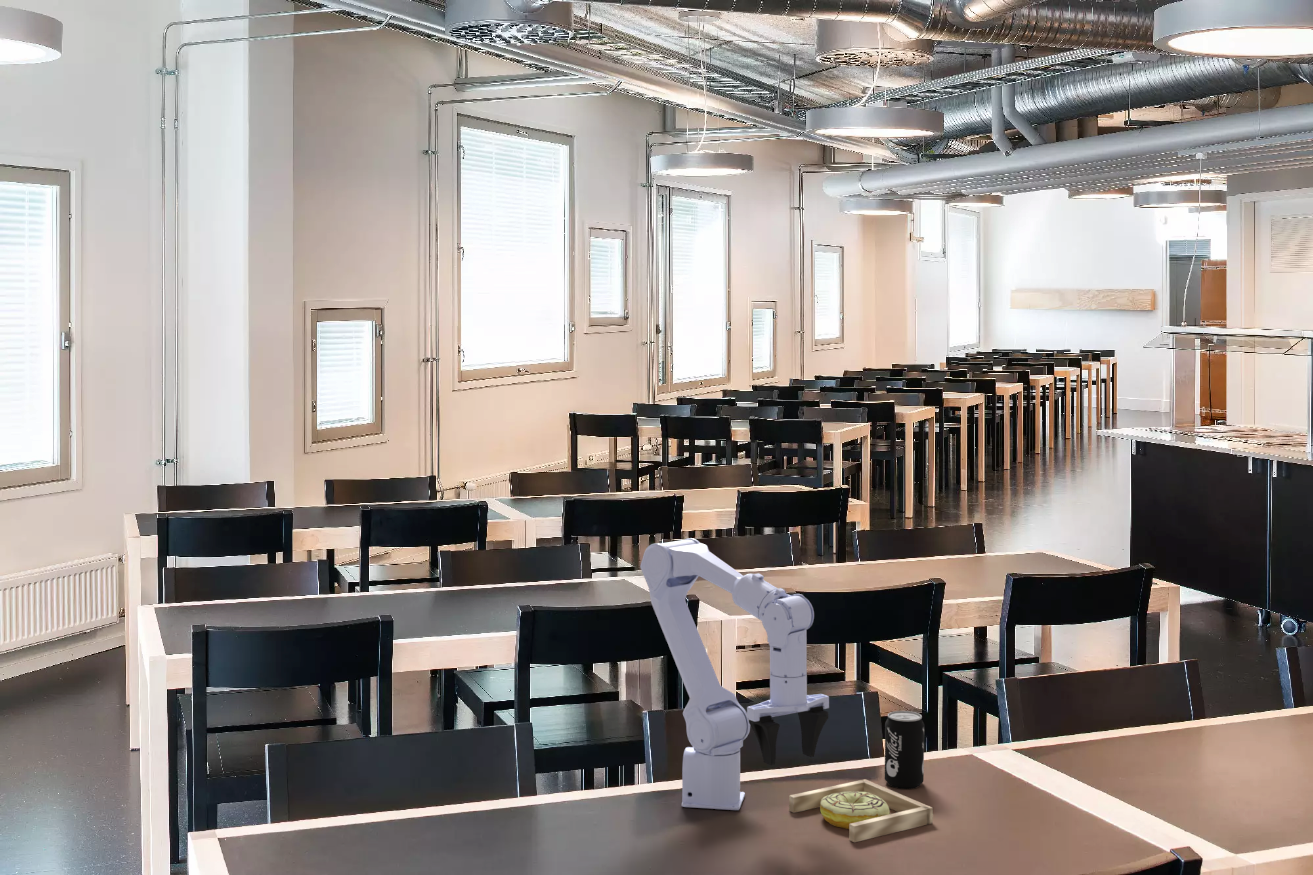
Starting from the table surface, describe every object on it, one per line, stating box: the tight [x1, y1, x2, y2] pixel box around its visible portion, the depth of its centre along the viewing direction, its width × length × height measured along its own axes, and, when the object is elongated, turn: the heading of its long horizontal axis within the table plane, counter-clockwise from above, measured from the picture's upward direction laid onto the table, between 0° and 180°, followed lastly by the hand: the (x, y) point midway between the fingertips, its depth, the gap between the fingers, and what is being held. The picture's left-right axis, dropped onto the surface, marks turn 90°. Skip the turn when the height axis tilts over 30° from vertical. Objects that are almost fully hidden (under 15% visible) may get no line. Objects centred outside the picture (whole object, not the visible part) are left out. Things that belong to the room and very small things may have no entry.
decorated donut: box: [819, 791, 891, 830], centre depth 217 cm, size 10×11×4 cm
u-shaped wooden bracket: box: [788, 778, 934, 843], centre depth 218 cm, size 16×16×2 cm
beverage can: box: [884, 710, 925, 790], centre depth 234 cm, size 7×7×12 cm
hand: (789, 759), depth 214 cm, fingers open, 7 cm apart
